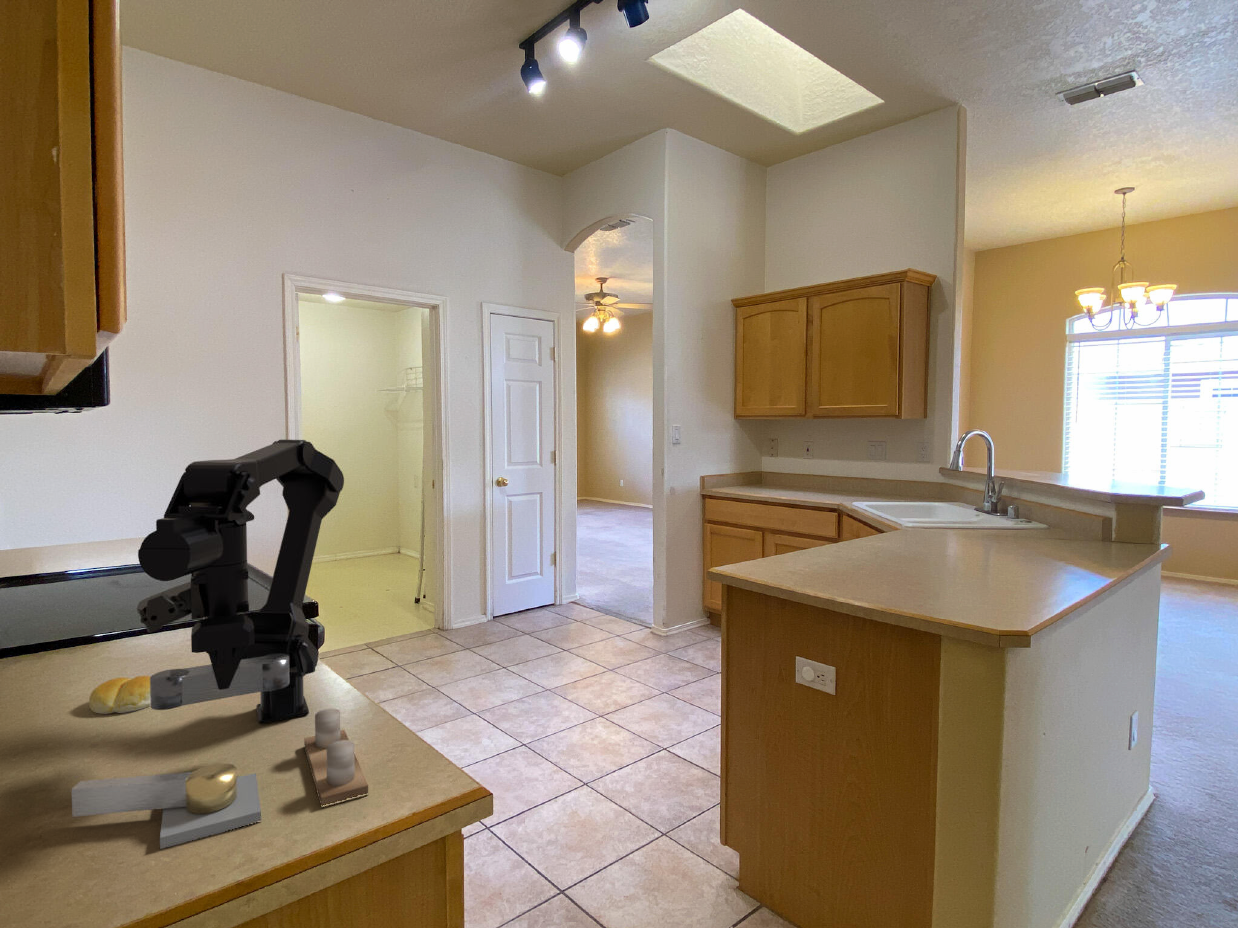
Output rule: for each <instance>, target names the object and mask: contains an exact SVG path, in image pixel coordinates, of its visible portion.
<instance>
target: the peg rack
mask: <svg viewBox="0 0 1238 928" xmlns="http://www.w3.org/2000/svg"><path fill="white" fill-rule="evenodd" d="M314 726H315V727H314V731H315V732H314V733H315V734H314V735H313V736H308V737H304V739H303V744H304V745H305V747H304V750H305V749H306V751H305V753H306V752H307V754H306V757H307V756H308V758H307V761H308V760H309V761H308V764H309V763H310V765H309V767H310V766H311V768H310V771H311V770H312V772H311V775H312V774H313V776H312V778H313V777H314V779H313V781H314V780H315V783H314V785H315V784H316V786H315V789H316V788H317V790H316V792H317V791H318V793H317V795H318V794H319V797H318V799H319V798H320V800H319V802H320V801H321V804H320V806H321V805H322V806H323V805H326V804H330V803H335V802H337V801H342V800H346V799H347V798H352V797H357V796H358V795H363V794H367V793H368V794H369V784H368V782H367V779H366V778H365V775H364V772H363V770H362V768H361V765H360V763H359V761H358V758H357V756H356V753H355V742H354V741H351V740H350V739H349V737H348V735H347V732H346V730H345V729H341V710H340V709H338V708H327V709H326V708H324V709H322V710H319V711H318V712H316V713H315V714H314ZM304 745H303V746H304Z"/></svg>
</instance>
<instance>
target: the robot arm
mask: <svg viewBox="0 0 1238 928" xmlns="http://www.w3.org/2000/svg"><path fill="white" fill-rule="evenodd" d="M273 480H276V481H277V482H278V483H279V484H280V485H281V486H282V491H281V492H282V496H283V500H284V502H285V505H286V508H287V509H288V515H287V519H286V523H285V527H284V531H283V535H282V538H281V544H280V548H279V550H278V555H277V559H276V563H275V567H274V570H273V575H272V580H271V583H270V587H269V591H268V595H267V599H266V601H265V604H264V605H263V606H262V607H260V609H259V610H258V611H251V612H250V603H249V592H248V591H249V589H248V588H249V585H248V582H249V581H248V580H249V568H248V538H247V537H248V535H247V534H248V533H247V532H248V531H247V530H248V529H247V523H248V522H251V521H254V520H255V515H254V514H253V513H252V512H251V511H250V510H248V509H247V507H248V506H249V505H250V504H251V503H252V502H253V501H254V500H256V499H257V498H258V497H259V496H260V495H261V490H260V488H261V487H262V486H263V485H265V484H268V483H270V482H272V481H273ZM344 484H345V477H344V473H343V471H342V470H341V469H340V467H339V466H338V464H337V463H336V460H334V459H333V458H331V457H330V456H329V455H326V454H325V453H322V452H321V451H319V450H317V449H316V447H314V444H312V442H311V441H307V440H306V439H278V440H274V441H273V442H272V443H271V444H268V445H266V446H264V447H261V448H258V449H257V450H253V451H251V452H248V453H246V454H243V455H241V456H238V457H236V458H232V459H229V458H228V459H210V460H209V459H208V460H207V459H206V460H199V461H192V462H191V463H189V464H188V465H187V466H186V467H185V469H184V472H183V473H182V475H181V476H180V478H179V481H178V483H177V486H176V488H175V489H174V491H173V495H172V497H171V499H170V501H169V503H168V505H167V507H166V510H165V511H164V514H163V518H158V519H157V520H156V521H155V529H156V530H154V531H152V532H151V533H148V535H146V536H145V538H144V539H143V540H142V542H141V544H140V548H139V549H138V551H137V558H138V562H139V564H140V567H141V569H142V570H143V572H145V574H146V575H148V576H149V577H150V578H151V579H154V580H156V581H160V582H170V581H174V580H177V579H180V578H184V577H186V576H188V575H191V576H190V581H187V582H186V583H182V584H179V585H176V586H174V587H171V588H169V589H166V590H163V591H162V592H159V593H156V594H153V595H151V596H149V597H146V598H144V599H142V600H140V601H139V602H138V604H137V607H136V611H137V613H138V615H139V616H140V623H141V624H144V626H145V629H146V630H147V633H153V632H156V631H158V630H161V629H162V628H163V627H164V626H166V625H169V624H171V623H173V622H176V621H178V620H180V619H183V618H186V617H188V616H189V615H191V616H190V617H191V620H199V621H198V622H194V626H193V627H192V628H191V632H190V633H191V635H190V640H191V641H190V642H191V653H193V654H200V653H206V654H207V655H208V656H209V659H210V664H212V667H213V671H214V675H215V678H216V682H217V685H218V689H219V690H223V689H228V688H229V687H230V684H231V682H232V680H233V677H234V675H235V673H236V670H237V668H238V666H239V663H240V661H241V660H243V659H250V658H256V657H262V656H265V655H270V654H286V655H288V656H289V685H288V686H286V687H284V688H282V689H279V690H274V691H262V692H259V693H260V694H259V695H260V703H257V704H256V714H257V718H258V719H257V720H258V723H259V724H263V725H264V724H267V723H273V722H277V721H281V720H282V719H283V720H286V719H291V718H292V717H293V718H296V717H297V718H298V717H301V716H306V715H309V714H310V710H309V707H308V704H307V703H308V702H307V701H306V697H305V695H304V692H305V691H304V677H305V676H307V675H309V674H313V673H315V671H316V667H317V665H318V662H319V650H318V649H317V648H316V646H315V645H314V643H312V641H311V640H310V639H309V632H310V626H309V624H308V621H307V619H306V617H305V614H304V612H303V604H304V600H305V595H306V591H307V587H308V582H309V577H310V574H311V570H312V565H313V560H314V556H315V551H316V547H317V542H318V537H319V534H320V529H321V525H322V520H323V519H324V518H325V517H326V516H327V515H328V514H329V513H330V512H331V511H332V510H333V509H334V508H335V507H336V506H337V503H338V499H339V497H340V493H341V492H342V490H343V488H344ZM244 613H249V614H248V615H245V614H244Z"/></svg>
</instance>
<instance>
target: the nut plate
mask: <svg viewBox="0 0 1238 928" xmlns="http://www.w3.org/2000/svg"><path fill="white" fill-rule="evenodd" d="M260 803H261V802H260V794H259V787H258V778H257V773H256V772H254V773H250V774H245V775H240V776H238V777H237V797H236V799H235V800H234V801H233V802H232V803H231V804H230V805H228V806H226V807H224V808H222V809H220V810H217V811H214V812H210V813H204V814H194V813H190V812H188V811H187V810H186V806H184V807H173V808H162V809H163V810H162V818H161V826H160V834H159V835H160V836H159V845H160V846H159V847H160V850H163V849H166V847H167V848H170V847H173V846H174V847H175V846H177V845H181V844H184V843H188V841H189V842H192V840H193V841H195V840H199V839H198V838H200V839H203V837H204V838H207V837H210V836H209V835H211V836H213V835H214V836H215V835H219V834H221V833H224V832H225V831H226V832H229V831H228V830H230V831H233V830H236V829H235V828H237V829H239V828H238V827H241V826H244V827H246V826H245V825H248V824H251V823H255V822H257V821H261V822H262V809H261V804H260ZM255 824H256V823H255ZM248 826H249V825H248ZM241 828H242V827H241ZM232 829H233V830H232ZM226 832H225V833H226Z"/></svg>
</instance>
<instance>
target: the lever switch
mask: <svg viewBox="0 0 1238 928" xmlns="http://www.w3.org/2000/svg"><path fill="white" fill-rule="evenodd" d="M237 776H238V775H237V767H236V766H235V765H234V764H231V763H227V762H226V763H222V762H221V763H213V764H210V765H205V766H203V767H200V768H198V769H195V770H194V771H187V772H186V771H185V772H176V773H175V772H174V773H163V774H151V775H141V776H140V775H138V776H127V777H126V776H125V777H116V778H115V777H114V778H103V779H91V780H80V781H79V782H78V783H77V784H76V785H74V786H73V787H72V788H71V789H70V790H71V813H72V817H73V818H75V817H76V818H77V817H86V816H94V815H95V816H96V815H107V814H116V813H117V814H119V813H129V812H137V811H147V810H148V811H149V810H150V811H151V810H159V809H160V810H162V809H163V808H173V807H184V806H186V810H187V811H188V812H190V813H194V814H204V813H210V812H214V811H217V810H220V809H222V808H224V807H226V806H228V805H230V804H231V803H232V802H233V801H234V800H235V799H236V797H237Z"/></svg>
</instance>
